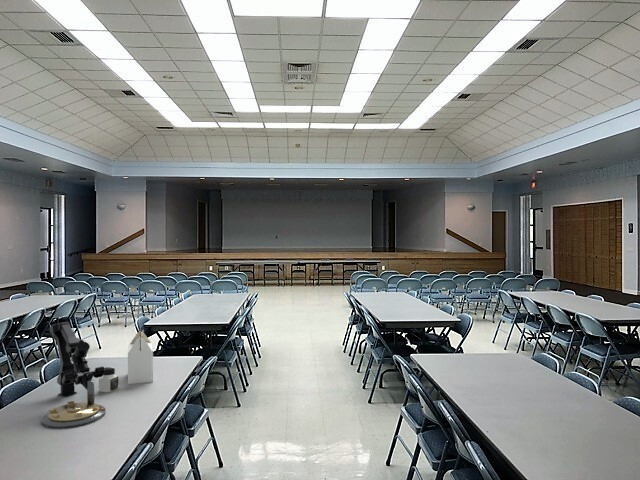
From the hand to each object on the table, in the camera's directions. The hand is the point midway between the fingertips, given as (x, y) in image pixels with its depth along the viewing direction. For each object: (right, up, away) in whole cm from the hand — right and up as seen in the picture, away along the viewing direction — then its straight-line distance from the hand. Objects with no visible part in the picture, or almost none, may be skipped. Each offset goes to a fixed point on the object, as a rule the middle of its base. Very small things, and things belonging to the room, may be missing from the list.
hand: (88, 390), depth 233 cm
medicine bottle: (-3, -9, +28) cm, 30 cm away
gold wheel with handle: (-2, -7, -11) cm, 13 cm away
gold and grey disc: (-2, -9, -11) cm, 14 cm away
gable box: (+6, -9, +50) cm, 52 cm away
